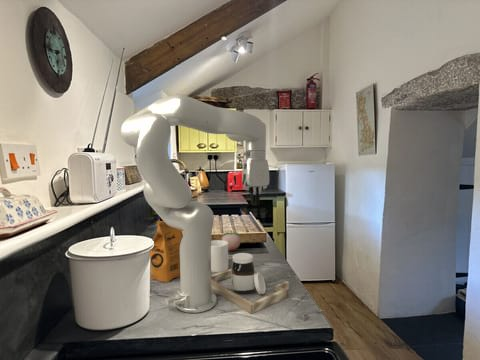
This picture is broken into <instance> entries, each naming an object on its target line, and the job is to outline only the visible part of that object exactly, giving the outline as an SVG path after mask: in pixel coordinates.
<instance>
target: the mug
mask: <svg viewBox="0 0 480 360" xmlns="http://www.w3.org/2000/svg"><path fill="white" fill-rule="evenodd" d="M226 270H229V250H228V242H227V241H223V240H222V239H219V240H218V239H216V240H211V273H213V274H217V273H220V272H223V271H226Z"/></svg>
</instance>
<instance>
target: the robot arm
mask: <svg viewBox="0 0 480 360" xmlns="http://www.w3.org/2000/svg"><path fill="white" fill-rule="evenodd" d="M174 126H181V127H185V128H188V129H192V130H196V131H199V132H203V133H205V134H206V133H207V134H213V135H226V137H227V138H228V139H229V140H230V141H232V142H245V148H244V149H245V150H244V151H245V152H243V157H245V159H244V160H243V165H242V172H241V184H242V190H245V191H247V192H248V193H249V195H250V205H252V206H259V205H260V195H261V194H262V192H263V190H265V189H267V188H268V186H269V185H270V167H269V161H268V159H266V158H267V157H266V155H267V154H266V153H267V152H266V150H267V149H266V148H267V124H266V123H265V122H263V121H262V120H261V119H260V118H259V117H258V116H256V115H253V114H250V113H248V112H245V111H242V110H241V111H240V110H235V109H229V108H225V107H218V106H214V105H212V104H210V103H206V102H203V101H200V100H198V99H196V98H193V97H190V96H188V95H184V94H173V95H169V96H166V97H162V98H159V99H157V100H156V101H154V102H152V103H151V104H149V105H148V106H146V107H144V108H142V109H140V110H139V111H138V112H136V113H134V114H132V115H131V116H129V117H128V118H126V119H125V120H124V121H123V123H122V124H121V127H120V135H121V137H122V139H123V141H124V142H125V143H126V144H127V145H129V146H131V147H133V148H134V147H135V148H136V153H135V158H136V159H135V160H136V161H135V162H136V166H137V170H138V171H139V173H140V175H141V176H142V178H143V179H144V180H145V182H144V185H143V196H144V199H145V201H146V202H147V203H148V205H149V206H150V207H151V208H152V210H153V211H154V212H155V213H156V214H157V215H158V217H160V219H161V220H162V221H164V222H165V223H166V224H167V225H169V226H170V227H172V228H175V229H178V230H182V232H183V237H182V240H181V243H180V276H179V277H180V278H179V280H180V284H179V285H180V289H177V293H175V294H174V295H173V296H169V297H166V298H165V299H164V301H165V304H166V305H167V306H169V305H172V304H173V306H174V307H176V308H177V309H179V311H182V312H185V313H187V314H188V313H189V314H196V313H198V314H199V313H202V312H206V311H209V310H210V309H213V307H215V305H217V302H218V301H217V299H218V298H217V295H216V294H215V293H214V292H212V291H213V290H212V286H211V275H212V272H211V241H212V233H213V227H214V222H215V217H214V216H215V215H214V212H213V210H212V209H211V208H210V207H209V206H208V205H207V204H205V203H203V202H199V201H193V200H192V196H193V194H192V189H191V187H190V185H189V183H188V182H187V181H186V180H185V179H184V177H183V176H182V174H181V173H180V172H179V170H178V169H177V168H176V166H175V165H174V163H173V162H172V159H171V158H170V155H169V143H170V139H171V134H172V129H171V127H174Z"/></svg>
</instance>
